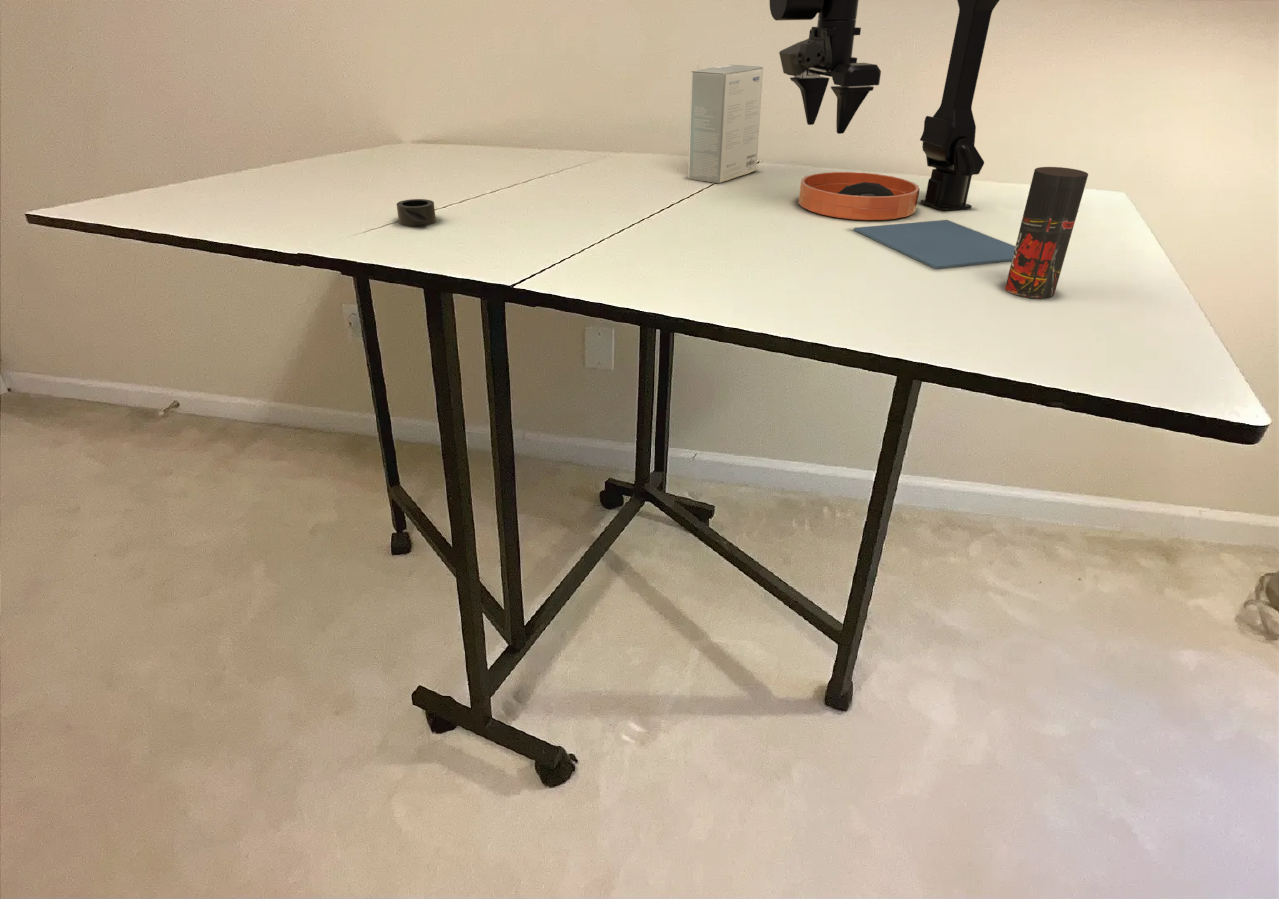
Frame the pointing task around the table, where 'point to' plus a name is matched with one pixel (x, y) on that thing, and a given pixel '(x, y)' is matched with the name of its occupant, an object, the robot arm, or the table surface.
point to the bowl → (824, 199)
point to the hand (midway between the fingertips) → (824, 128)
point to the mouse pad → (941, 243)
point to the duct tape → (416, 212)
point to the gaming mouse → (866, 190)
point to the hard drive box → (724, 122)
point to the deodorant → (1045, 231)
